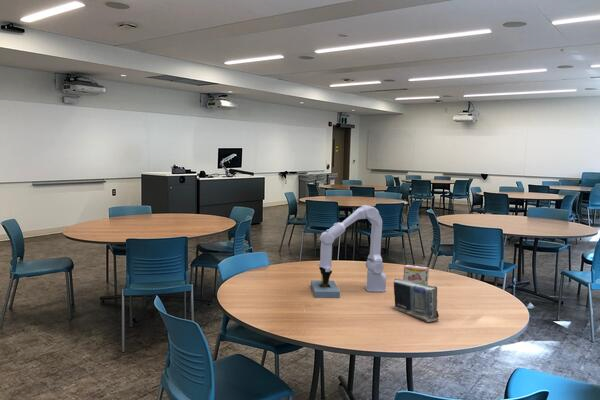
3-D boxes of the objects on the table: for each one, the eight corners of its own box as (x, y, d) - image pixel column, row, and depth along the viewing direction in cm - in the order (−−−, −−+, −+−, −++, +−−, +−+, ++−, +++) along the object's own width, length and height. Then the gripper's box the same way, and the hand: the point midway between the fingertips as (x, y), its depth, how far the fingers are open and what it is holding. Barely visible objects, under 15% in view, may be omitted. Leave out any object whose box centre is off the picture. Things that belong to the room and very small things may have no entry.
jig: (333, 286, 240) (333, 280, 240) (339, 297, 220) (340, 291, 220) (310, 285, 239) (310, 280, 239) (315, 297, 219) (315, 291, 219)
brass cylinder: (328, 284, 231) (328, 273, 231) (329, 286, 227) (329, 275, 227) (320, 284, 231) (320, 273, 231) (321, 286, 227) (321, 275, 227)
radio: (389, 307, 209) (391, 275, 208) (404, 304, 213) (406, 273, 211) (423, 324, 188) (425, 289, 187) (439, 321, 192) (441, 287, 190)
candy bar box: (401, 299, 220) (403, 266, 219) (404, 296, 225) (405, 264, 223) (425, 303, 216) (427, 269, 214) (427, 300, 220) (429, 267, 219)
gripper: (316, 252, 235) (315, 278, 236) (319, 259, 220) (318, 286, 222) (329, 253, 235) (328, 278, 237) (334, 259, 221) (333, 286, 222)
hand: (325, 282), depth 229 cm, fingers closed on brass cylinder, 4 cm apart
